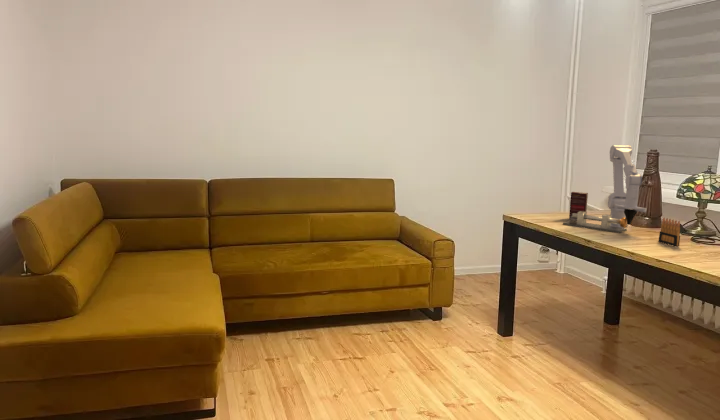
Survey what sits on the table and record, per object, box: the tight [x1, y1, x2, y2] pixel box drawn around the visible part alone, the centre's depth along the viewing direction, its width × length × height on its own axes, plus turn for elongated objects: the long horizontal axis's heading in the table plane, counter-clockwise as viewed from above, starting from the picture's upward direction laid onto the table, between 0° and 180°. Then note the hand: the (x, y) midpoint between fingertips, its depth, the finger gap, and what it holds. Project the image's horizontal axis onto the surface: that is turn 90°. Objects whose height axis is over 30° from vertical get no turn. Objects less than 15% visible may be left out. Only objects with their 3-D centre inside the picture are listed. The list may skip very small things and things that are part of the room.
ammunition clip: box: [658, 217, 681, 247], centre depth 258 cm, size 11×2×12 cm, turn 15°
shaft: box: [572, 213, 628, 228], centre depth 293 cm, size 5×28×5 cm, turn 46°
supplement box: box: [568, 191, 589, 221], centre depth 317 cm, size 9×5×16 cm, turn 58°
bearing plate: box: [562, 211, 628, 234], centre depth 295 cm, size 10×30×8 cm, turn 46°
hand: (629, 224), depth 283 cm, fingers closed
